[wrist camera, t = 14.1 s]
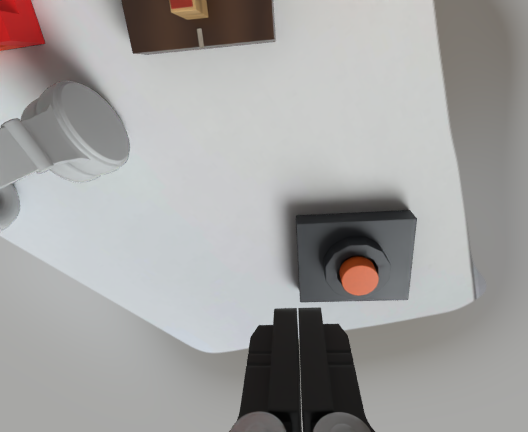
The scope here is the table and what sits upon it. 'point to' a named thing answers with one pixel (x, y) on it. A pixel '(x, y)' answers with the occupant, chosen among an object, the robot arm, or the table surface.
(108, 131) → the headphones
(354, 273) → the button
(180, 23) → the handle panel
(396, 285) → the button block
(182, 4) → the wooden block
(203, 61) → the table surface
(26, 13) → the building blocks
